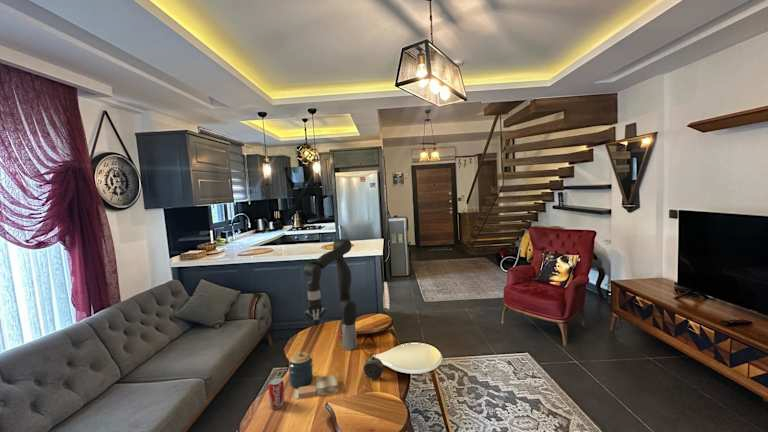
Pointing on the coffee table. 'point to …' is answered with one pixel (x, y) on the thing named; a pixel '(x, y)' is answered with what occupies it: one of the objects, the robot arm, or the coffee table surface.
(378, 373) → the alarm clock
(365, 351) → the coffee table surface
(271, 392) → the soda can
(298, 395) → the mat
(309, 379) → the canister
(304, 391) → the pink block
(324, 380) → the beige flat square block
